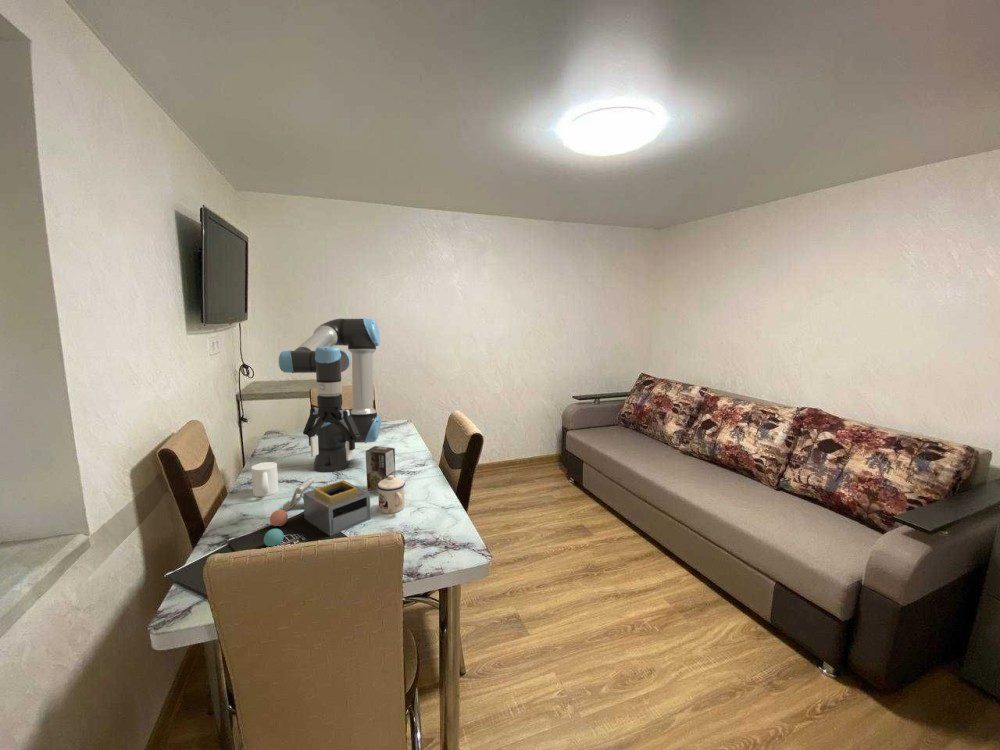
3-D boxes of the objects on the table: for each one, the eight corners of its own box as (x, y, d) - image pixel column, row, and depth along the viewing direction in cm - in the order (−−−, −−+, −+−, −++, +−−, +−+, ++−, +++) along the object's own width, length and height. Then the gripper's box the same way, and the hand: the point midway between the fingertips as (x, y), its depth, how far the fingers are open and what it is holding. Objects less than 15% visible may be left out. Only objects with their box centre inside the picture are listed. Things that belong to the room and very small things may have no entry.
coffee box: (396, 488, 159) (395, 448, 157) (386, 495, 153) (385, 453, 151) (376, 485, 162) (375, 445, 160) (366, 491, 156) (364, 450, 154)
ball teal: (261, 546, 118) (260, 530, 117) (279, 539, 122) (278, 523, 121) (268, 553, 115) (267, 536, 114) (287, 545, 118) (286, 529, 118)
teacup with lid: (373, 507, 143) (372, 474, 142) (398, 500, 149) (397, 469, 147) (388, 520, 134) (387, 486, 132) (413, 512, 140) (413, 479, 138)
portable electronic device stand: (296, 500, 148) (295, 477, 147) (317, 500, 148) (316, 478, 147) (283, 511, 140) (281, 487, 138) (306, 511, 139) (304, 488, 138)
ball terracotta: (267, 526, 129) (266, 511, 129) (284, 520, 133) (283, 505, 132) (274, 531, 126) (273, 516, 125) (291, 525, 130) (290, 510, 129)
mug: (276, 460, 158) (277, 470, 148) (278, 486, 160) (279, 497, 149) (251, 464, 154) (250, 474, 144) (253, 490, 156) (252, 502, 145)
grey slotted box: (304, 519, 134) (302, 488, 132) (344, 504, 144) (343, 476, 143) (330, 536, 124) (328, 503, 122) (370, 519, 134) (369, 488, 133)
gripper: (289, 394, 134) (292, 457, 136) (356, 398, 127) (358, 464, 130) (305, 390, 141) (308, 450, 144) (369, 394, 134) (371, 457, 137)
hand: (332, 457), depth 137 cm, fingers open, 13 cm apart
